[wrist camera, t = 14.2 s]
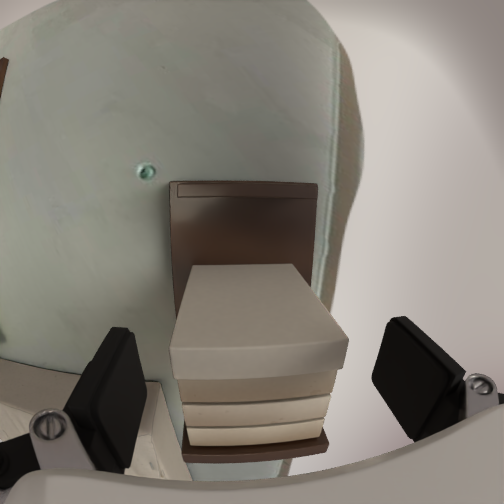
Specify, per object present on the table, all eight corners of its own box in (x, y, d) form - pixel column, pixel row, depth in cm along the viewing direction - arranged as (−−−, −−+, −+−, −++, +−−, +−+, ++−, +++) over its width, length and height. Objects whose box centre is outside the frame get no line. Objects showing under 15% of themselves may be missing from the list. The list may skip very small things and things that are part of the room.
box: (208, 505, 31) (163, 376, 22) (209, 541, 24) (148, 442, 15) (85, 487, 29) (-6, 352, 21) (76, 517, 22) (-39, 387, 13)
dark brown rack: (171, 181, 19) (113, 186, 8) (313, 183, 20) (404, 194, 9) (182, 355, 22) (166, 461, 12) (299, 351, 23) (342, 449, 13)
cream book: (192, 264, 19) (167, 348, 10) (292, 263, 20) (350, 338, 10) (193, 286, 20) (173, 379, 10) (291, 284, 20) (343, 369, 11)
